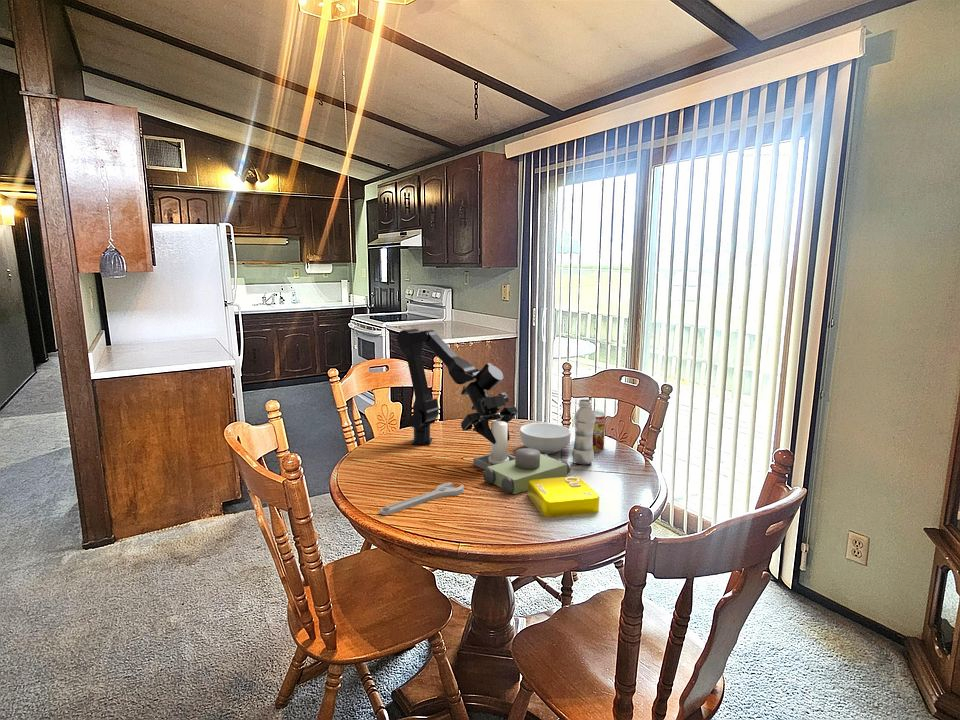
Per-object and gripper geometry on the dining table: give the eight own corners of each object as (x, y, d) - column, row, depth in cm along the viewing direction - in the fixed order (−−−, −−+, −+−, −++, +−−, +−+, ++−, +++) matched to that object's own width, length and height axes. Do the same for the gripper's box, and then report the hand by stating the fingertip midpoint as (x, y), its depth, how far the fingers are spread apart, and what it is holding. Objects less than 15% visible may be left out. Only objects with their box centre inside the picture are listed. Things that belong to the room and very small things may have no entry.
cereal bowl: (558, 462, 170) (559, 440, 169) (510, 452, 178) (511, 432, 177) (577, 447, 184) (578, 426, 183) (532, 439, 192) (532, 419, 191)
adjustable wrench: (383, 519, 132) (383, 512, 132) (371, 509, 137) (371, 503, 137) (467, 493, 147) (467, 487, 146) (453, 485, 152) (453, 479, 152)
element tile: (525, 494, 146) (526, 477, 146) (577, 489, 150) (578, 473, 149) (544, 519, 132) (544, 500, 131) (601, 513, 135) (602, 495, 134)
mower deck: (458, 468, 164) (458, 442, 163) (514, 453, 177) (515, 429, 176) (510, 495, 145) (511, 466, 143) (569, 476, 158) (570, 450, 156)
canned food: (601, 453, 178) (603, 417, 176) (577, 449, 181) (578, 415, 179) (605, 446, 185) (607, 411, 183) (582, 443, 188) (584, 409, 186)
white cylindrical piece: (488, 457, 169) (489, 420, 167) (509, 458, 169) (509, 420, 167) (487, 464, 163) (488, 426, 161) (509, 465, 163) (509, 426, 161)
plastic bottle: (568, 460, 171) (570, 399, 167) (587, 458, 173) (589, 397, 169) (577, 468, 165) (580, 403, 161) (597, 465, 167) (600, 402, 163)
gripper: (466, 388, 160) (489, 433, 153) (514, 380, 171) (538, 422, 164) (451, 408, 167) (472, 452, 160) (498, 400, 178) (520, 441, 171)
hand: (501, 441), depth 164 cm, fingers closed on white cylindrical piece, 5 cm apart
